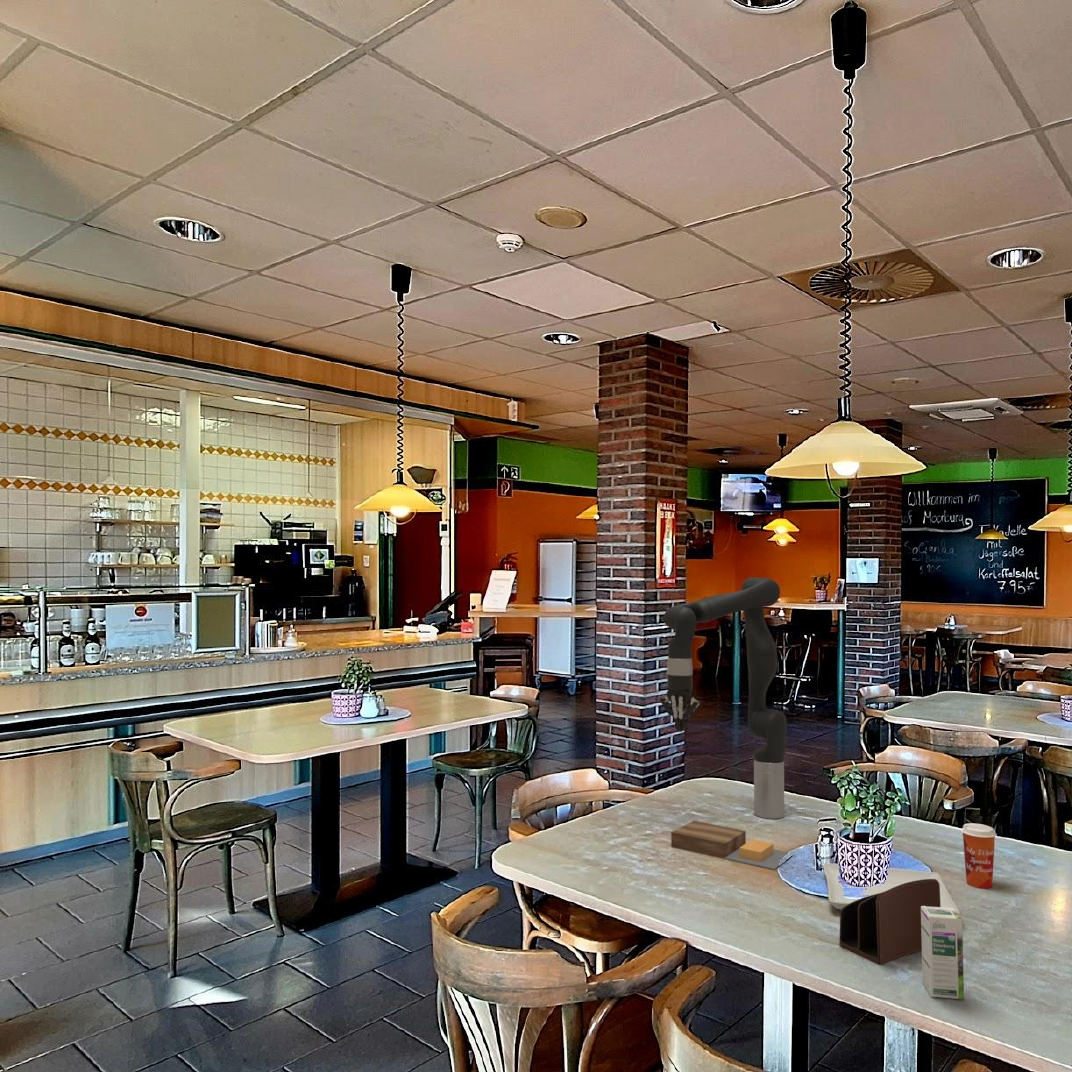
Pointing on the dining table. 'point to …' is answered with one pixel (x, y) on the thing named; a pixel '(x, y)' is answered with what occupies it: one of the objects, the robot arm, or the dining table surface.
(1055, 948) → the dining table surface
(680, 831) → the wooden block
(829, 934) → the dining table surface
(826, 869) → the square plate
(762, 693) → the robot arm
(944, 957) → the syrup box
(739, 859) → the mat
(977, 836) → the paper cup
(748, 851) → the orange rectangular block
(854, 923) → the letter holder
